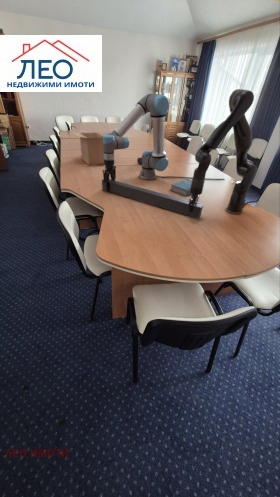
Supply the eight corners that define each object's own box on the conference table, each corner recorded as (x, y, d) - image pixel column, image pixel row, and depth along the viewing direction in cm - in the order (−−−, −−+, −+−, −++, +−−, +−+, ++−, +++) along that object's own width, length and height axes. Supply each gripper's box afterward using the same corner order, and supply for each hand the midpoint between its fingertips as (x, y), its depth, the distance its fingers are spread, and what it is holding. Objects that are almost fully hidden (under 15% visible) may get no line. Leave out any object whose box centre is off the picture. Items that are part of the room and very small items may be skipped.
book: (186, 184, 196) (187, 178, 193) (201, 190, 188) (203, 184, 185) (170, 190, 183) (171, 184, 180) (185, 196, 174) (187, 190, 171)
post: (102, 189, 174) (101, 179, 170) (106, 187, 178) (105, 178, 173) (198, 218, 145) (200, 207, 140) (200, 215, 148) (203, 204, 143)
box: (116, 165, 229) (116, 136, 213) (83, 168, 214) (80, 137, 198) (102, 154, 259) (101, 128, 243) (71, 156, 244) (68, 129, 228)
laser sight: (156, 166, 234) (157, 157, 228) (136, 164, 237) (136, 154, 231) (158, 164, 241) (159, 154, 236) (138, 162, 244) (138, 152, 238)
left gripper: (105, 162, 152) (107, 194, 166) (120, 157, 164) (120, 187, 178) (97, 160, 155) (99, 192, 169) (112, 155, 167) (113, 185, 181)
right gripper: (199, 190, 130) (193, 216, 140) (206, 183, 140) (200, 207, 150) (187, 187, 133) (182, 212, 143) (195, 180, 143) (190, 204, 153)
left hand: (110, 189), depth 174 cm, fingers closed on post, 5 cm apart
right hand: (192, 210), depth 147 cm, fingers closed on post, 5 cm apart
